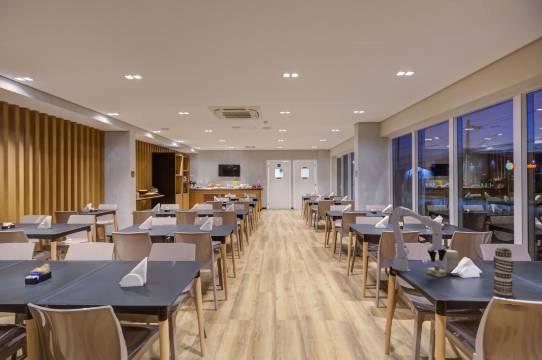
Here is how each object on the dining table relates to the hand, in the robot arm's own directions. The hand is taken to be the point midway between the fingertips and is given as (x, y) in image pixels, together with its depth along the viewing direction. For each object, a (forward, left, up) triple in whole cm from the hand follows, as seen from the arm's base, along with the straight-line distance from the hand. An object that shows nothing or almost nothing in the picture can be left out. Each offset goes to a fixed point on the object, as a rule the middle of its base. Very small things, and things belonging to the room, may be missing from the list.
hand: (437, 261), depth 216 cm
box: (0, 0, -9) cm, 9 cm away
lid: (0, 0, -7) cm, 7 cm away
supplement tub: (-1, +15, -10) cm, 18 cm away
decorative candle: (+38, +4, -10) cm, 40 cm away
